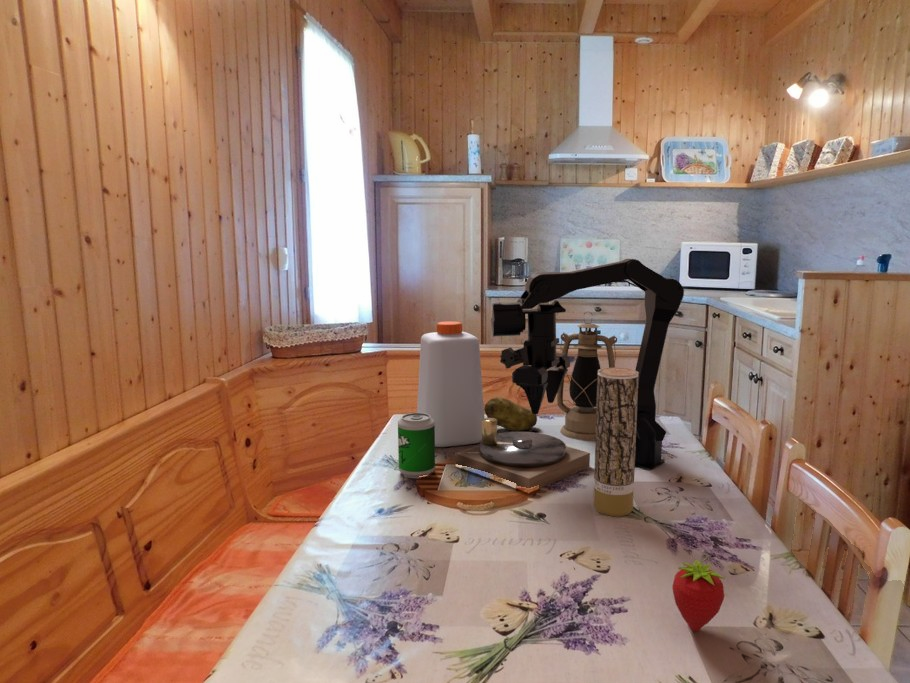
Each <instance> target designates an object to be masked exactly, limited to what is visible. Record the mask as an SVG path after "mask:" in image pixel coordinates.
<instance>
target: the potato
mask: <svg viewBox="0 0 910 683" xmlns="http://www.w3.org/2000/svg"><path fill="white" fill-rule="evenodd" d="M484 414H485V415H486V418H495V419H497V427H498V426H499V427H501V428H503V429H505V430H508V431H510V432H522V431H526V430H529V429H533V427H535V426H536V424H537V422H538V414H533V413H532V411H531V408H527V407H525V406H522V405H520V404H518V403H516V402H514V401H512V400H510V399H508V398H507V397H506V398H505V397H493V398H490V399H489V400H488V401H486V403H485V404H484Z"/></svg>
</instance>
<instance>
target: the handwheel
mask: <svg viewBox="0 0 910 683" xmlns="http://www.w3.org/2000/svg"><path fill="white" fill-rule="evenodd" d="M479 445H480V454H481V456H482V457H484V458H485V459H487V460H489V461H491V462H494V463H497V464H501V465H506V466H514V467H538V466H546V465H550V464H554V463H557V462H559V461H561V460H562V459H563V458H564V457H565V456H566V446H567V445H566V442H564V441H563V440H561V439H560V438H558V437H555V436H552V435H549V434H545V433H539V432H534V431H533V432H532V431H507V432H499V433H498V425H497V419H495V418H487V417H484V419H482V440H481V442H479Z"/></svg>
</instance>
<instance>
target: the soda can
mask: <svg viewBox="0 0 910 683" xmlns="http://www.w3.org/2000/svg"><path fill="white" fill-rule="evenodd" d="M397 442H398V443H397V444H398V445H397V447H398V449H397V450H398V455H397V456H398V470H399V472H400V473H401V474H402V475H403V476H404V477H406V478H409V479H418V478H417V477H419V476H423V475H427V474H430V473H431V472H432V473H433V472H434V471H435V470H436V447H435V421H434V420H433V419H432V418H431V417H430V415H428V414H425V413H417V412H412V413H406V414H403V415H402V416H401V418H400V419H399V420H397ZM432 473H431V474H432ZM431 474H430V475H431Z"/></svg>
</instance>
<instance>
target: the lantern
mask: <svg viewBox="0 0 910 683" xmlns="http://www.w3.org/2000/svg"><path fill="white" fill-rule="evenodd" d="M586 313H587V311H585V312H584V313H583V315H585V314H586ZM589 313H590V314H591V315H593V313H592V312H591V311H589ZM577 327H578V328H579V330H578V331H579V333H572V334H569V335H568V334H567V333H566V332H562V334H561V335H560V339H561V341H560V351H561V354H567V355H568V354H569V349H570V345H571V342H572V341H574V340H575V341H578V342H577V344H574V345H573V348H575V349H577V353H576V355H577V356H576V360H575V361H574V366H573V370H572V372H571V373H570V378H569V374H568V371H567V372H566V377H567V378H568V381H569V389H568V390H569V396H570V399H571V400H572V403H571V402H570V400H566V399H564V383H565V378H564V379H563V381H562V383H561V386H560V388H559V390H558V392H557V395H556V400H557V402H556V403H557V406H558V407H559V409H560V410H561V411H563V412H565V413H566V414H565V417H564V419H565V420H564V421H565V422H564V425H563V426H562V427H561V428H560V434H562V436H565V437H567V438H570V439H574V440H582V441H595V439H596V407H597V375H598V370H599V369H602V368H601V364H600V361H599V354H598V349H602V348H603V347H602V345H600V344H598V342H602V343H604V344H605V349H606V353H607V360H608V368H616V360H617V359H616V358H617V352H616V344H617V342H618V338H617V336H615V335H614V334H613V336H610V337H609V338H608V336H605V335H600V334H598V329H599V328H600V325H597V324H595V323H593V319H591V322H586V320H585V319H583V323H581V324H578V325H577ZM582 329H584V330H582ZM592 329H594V330H593V331H592ZM562 344H563V346H562ZM613 345H614V346H613ZM613 347H614V348H613ZM613 349H614V350H613ZM568 356H569V355H568ZM562 368H563V366H562ZM563 369H564V368H563ZM564 401H567V402H569V404H570V405H571V406H572V408H571V407H568V406H566V405H565V404H564ZM573 405H574V407H573Z"/></svg>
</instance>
